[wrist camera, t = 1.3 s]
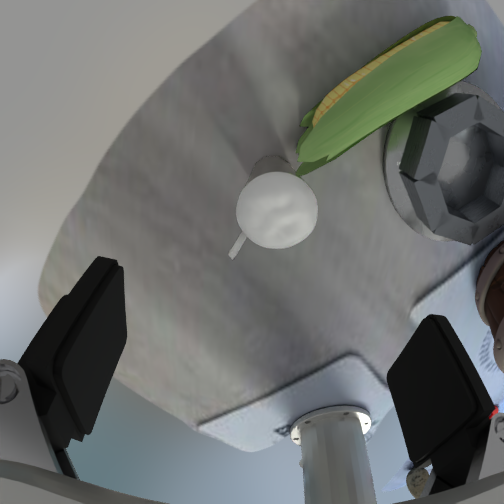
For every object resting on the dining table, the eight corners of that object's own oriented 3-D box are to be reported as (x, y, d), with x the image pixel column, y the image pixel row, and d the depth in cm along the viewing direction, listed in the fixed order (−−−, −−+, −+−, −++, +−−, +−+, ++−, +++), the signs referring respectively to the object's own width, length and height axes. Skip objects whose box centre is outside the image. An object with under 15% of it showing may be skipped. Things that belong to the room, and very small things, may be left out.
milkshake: (223, 174, 25) (202, 225, 16) (279, 135, 23) (292, 164, 14) (257, 217, 26) (255, 286, 18) (311, 182, 25) (339, 237, 16)
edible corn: (502, 65, 15) (485, 14, 12) (305, 200, 22) (266, 155, 19) (462, 50, 18) (443, 6, 16) (288, 166, 25) (254, 127, 23)
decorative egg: (399, 472, 57) (406, 505, 48) (417, 462, 54) (425, 496, 45) (412, 472, 58) (420, 503, 49) (430, 462, 55) (438, 494, 47)
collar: (478, 250, 27) (496, 269, 24) (360, 217, 26) (374, 236, 23) (523, 121, 20) (547, 129, 17) (407, 52, 19) (429, 48, 16)
